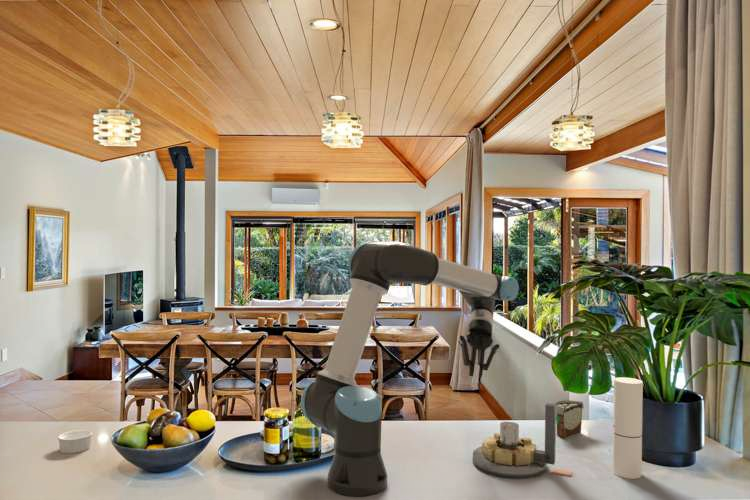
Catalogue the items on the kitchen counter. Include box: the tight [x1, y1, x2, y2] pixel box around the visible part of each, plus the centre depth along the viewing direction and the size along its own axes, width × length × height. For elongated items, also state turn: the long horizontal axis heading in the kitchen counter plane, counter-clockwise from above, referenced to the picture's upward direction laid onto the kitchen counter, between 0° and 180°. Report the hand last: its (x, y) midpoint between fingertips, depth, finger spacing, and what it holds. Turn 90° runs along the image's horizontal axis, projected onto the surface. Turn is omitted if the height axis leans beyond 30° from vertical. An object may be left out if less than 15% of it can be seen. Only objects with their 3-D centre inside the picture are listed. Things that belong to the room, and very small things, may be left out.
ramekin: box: [57, 429, 93, 455], centre depth 164 cm, size 9×9×4 cm
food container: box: [554, 399, 584, 440], centre depth 182 cm, size 12×6×10 cm, turn 130°
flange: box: [472, 421, 548, 480], centre depth 156 cm, size 20×20×11 cm
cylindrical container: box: [611, 376, 644, 480], centre depth 151 cm, size 7×7×25 cm
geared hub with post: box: [481, 402, 557, 466], centre depth 155 cm, size 19×14×16 cm
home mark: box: [550, 468, 573, 477], centre depth 150 cm, size 5×2×1 cm, turn 65°
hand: (474, 384), depth 165 cm, fingers closed
